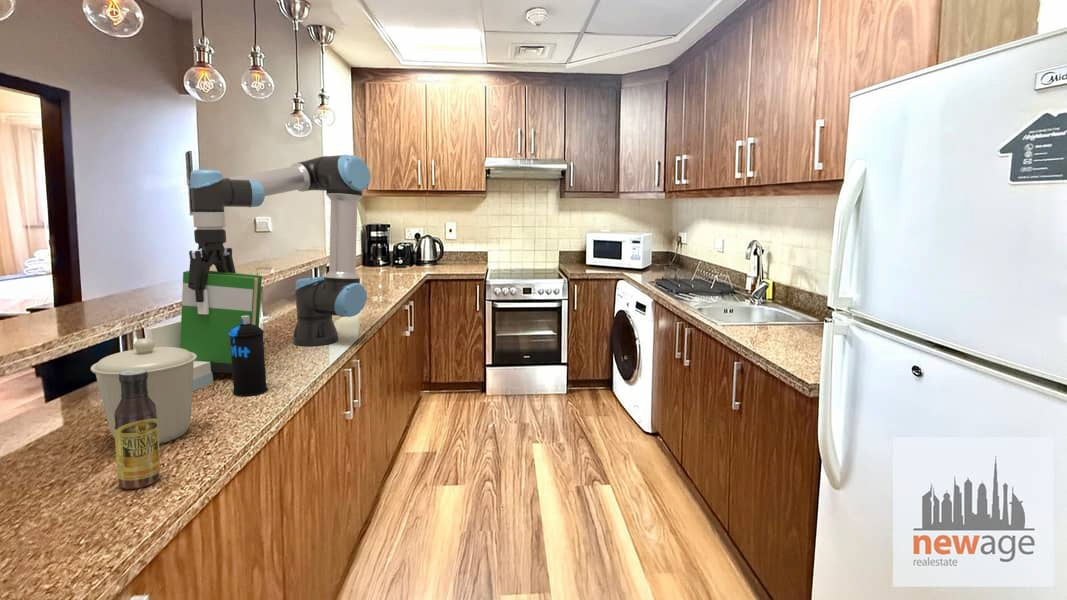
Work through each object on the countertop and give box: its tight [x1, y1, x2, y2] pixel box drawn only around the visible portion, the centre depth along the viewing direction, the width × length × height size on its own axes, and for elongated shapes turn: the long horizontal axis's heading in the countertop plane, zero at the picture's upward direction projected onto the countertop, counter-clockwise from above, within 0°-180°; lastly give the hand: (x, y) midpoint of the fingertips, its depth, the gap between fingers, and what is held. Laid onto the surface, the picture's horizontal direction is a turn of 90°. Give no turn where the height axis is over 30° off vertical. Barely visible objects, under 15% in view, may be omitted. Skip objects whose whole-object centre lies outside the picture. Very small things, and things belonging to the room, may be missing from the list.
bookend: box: [210, 362, 233, 374], centre depth 172 cm, size 2×11×12 cm, turn 80°
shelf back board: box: [146, 320, 181, 348], centre depth 164 cm, size 19×1×16 cm, turn 170°
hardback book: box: [180, 270, 263, 364], centre depth 163 cm, size 18×7×24 cm, turn 98°
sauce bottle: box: [114, 369, 161, 490], centre depth 102 cm, size 7×6×20 cm
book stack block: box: [193, 361, 214, 392], centre depth 158 cm, size 8×11×6 cm
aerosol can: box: [228, 316, 269, 398], centre depth 152 cm, size 8×8×20 cm
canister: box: [90, 337, 197, 445], centre depth 121 cm, size 18×18×21 cm
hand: (215, 311), depth 163 cm, fingers closed on hardback book, 9 cm apart
